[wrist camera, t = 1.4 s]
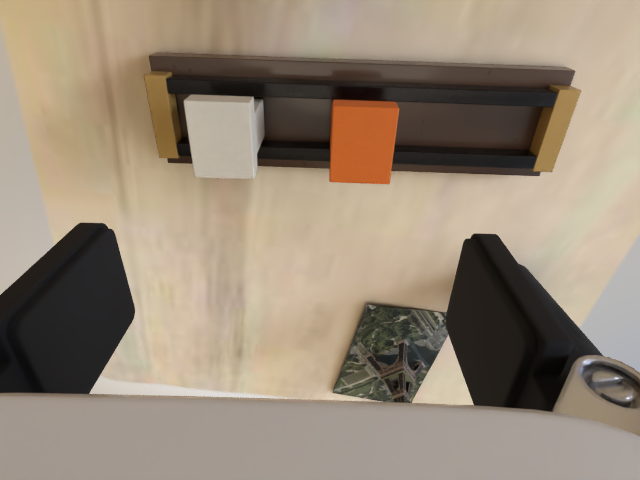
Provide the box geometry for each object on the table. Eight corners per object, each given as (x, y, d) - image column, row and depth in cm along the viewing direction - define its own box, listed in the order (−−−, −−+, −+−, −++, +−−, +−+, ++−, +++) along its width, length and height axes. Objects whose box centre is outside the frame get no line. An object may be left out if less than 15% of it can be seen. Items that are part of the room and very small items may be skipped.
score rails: (151, 70, 29) (142, 74, 28) (570, 85, 29) (581, 90, 28) (165, 151, 32) (158, 158, 31) (543, 164, 32) (552, 172, 31)
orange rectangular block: (332, 85, 29) (333, 105, 25) (388, 87, 29) (399, 108, 25) (329, 152, 32) (329, 182, 27) (380, 154, 32) (389, 184, 27)
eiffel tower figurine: (365, 298, 42) (377, 414, 31) (458, 315, 43) (503, 433, 32) (332, 389, 50) (333, 508, 39) (411, 402, 51) (434, 522, 40)
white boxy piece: (206, 81, 29) (182, 100, 25) (262, 82, 29) (249, 102, 25) (214, 148, 32) (194, 177, 27) (265, 150, 32) (254, 179, 27)
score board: (156, 52, 30) (148, 55, 29) (565, 66, 30) (576, 70, 29) (173, 156, 34) (167, 163, 33) (531, 169, 34) (539, 176, 33)
